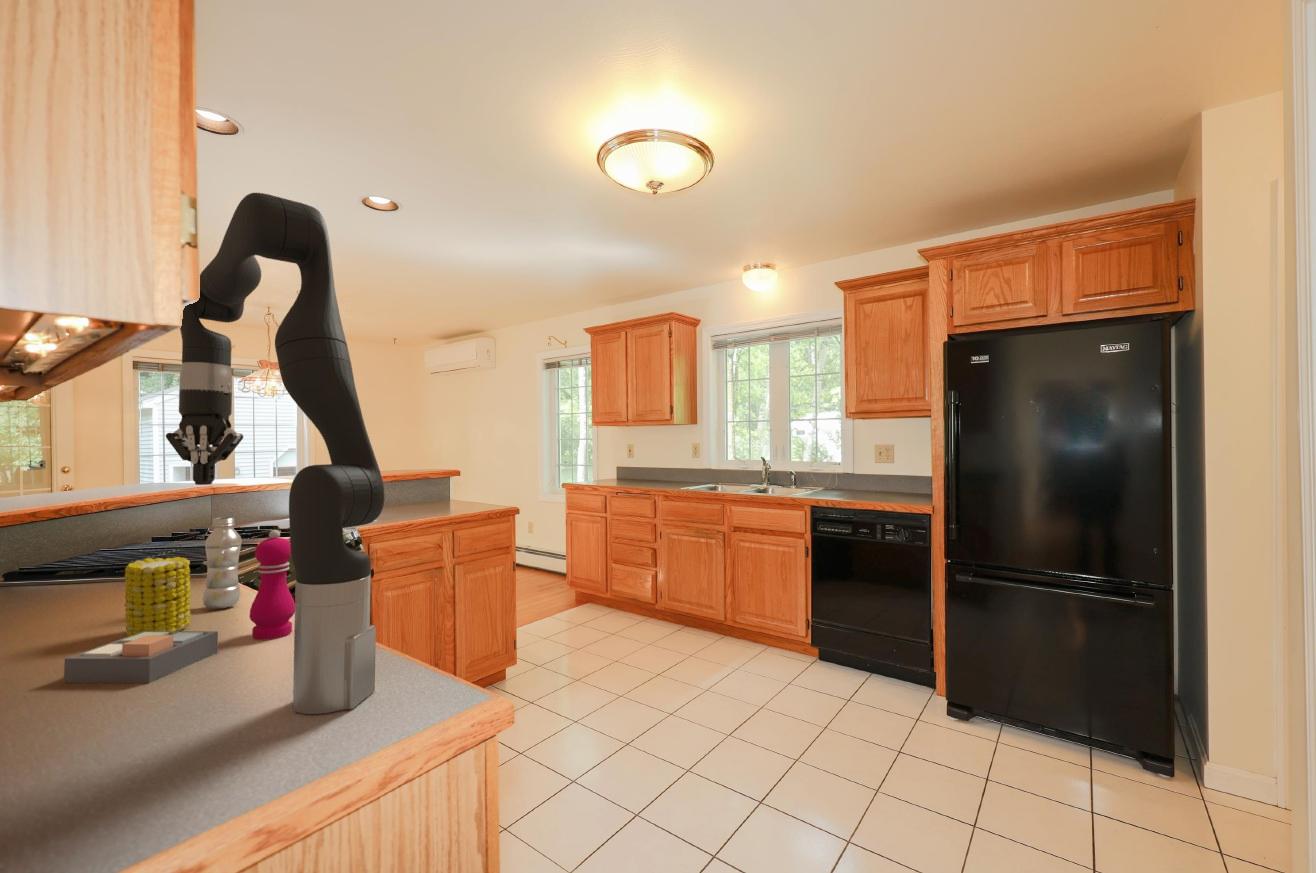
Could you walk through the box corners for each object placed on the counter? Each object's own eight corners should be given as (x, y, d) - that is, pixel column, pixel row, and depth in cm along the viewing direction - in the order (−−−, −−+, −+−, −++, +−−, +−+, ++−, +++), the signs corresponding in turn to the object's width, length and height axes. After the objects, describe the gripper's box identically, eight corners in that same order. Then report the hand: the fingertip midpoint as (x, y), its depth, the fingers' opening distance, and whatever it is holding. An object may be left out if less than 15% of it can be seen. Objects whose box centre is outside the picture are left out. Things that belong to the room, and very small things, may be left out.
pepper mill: (303, 629, 110) (305, 527, 111) (275, 641, 103) (277, 532, 104) (269, 628, 111) (271, 526, 112) (239, 640, 104) (241, 532, 104)
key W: (168, 651, 96) (168, 632, 96) (145, 660, 92) (146, 640, 92) (144, 651, 96) (144, 632, 96) (120, 660, 92) (121, 640, 92)
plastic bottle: (210, 605, 127) (212, 517, 128) (245, 602, 129) (247, 516, 130) (196, 612, 121) (198, 520, 122) (233, 610, 123) (235, 519, 124)
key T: (172, 655, 90) (173, 635, 90) (148, 665, 86) (149, 644, 86) (146, 655, 90) (147, 635, 90) (121, 665, 86) (122, 644, 86)
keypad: (217, 652, 98) (217, 631, 98) (149, 682, 85) (149, 658, 85) (143, 651, 98) (143, 630, 98) (63, 682, 85) (64, 658, 85)
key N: (135, 664, 90) (136, 644, 90) (109, 675, 86) (110, 653, 86) (109, 664, 90) (110, 643, 90) (82, 674, 86) (83, 653, 86)
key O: (202, 651, 96) (203, 632, 96) (182, 660, 92) (182, 640, 92) (178, 651, 96) (179, 632, 96) (156, 660, 92) (157, 640, 92)
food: (194, 629, 115) (171, 648, 105) (123, 622, 111) (93, 641, 101) (215, 556, 116) (195, 568, 106) (145, 547, 112) (118, 558, 102)
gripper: (151, 387, 99) (148, 485, 98) (226, 387, 99) (223, 485, 98) (187, 391, 106) (185, 483, 106) (257, 392, 106) (254, 483, 106)
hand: (203, 484), depth 102 cm, fingers closed
